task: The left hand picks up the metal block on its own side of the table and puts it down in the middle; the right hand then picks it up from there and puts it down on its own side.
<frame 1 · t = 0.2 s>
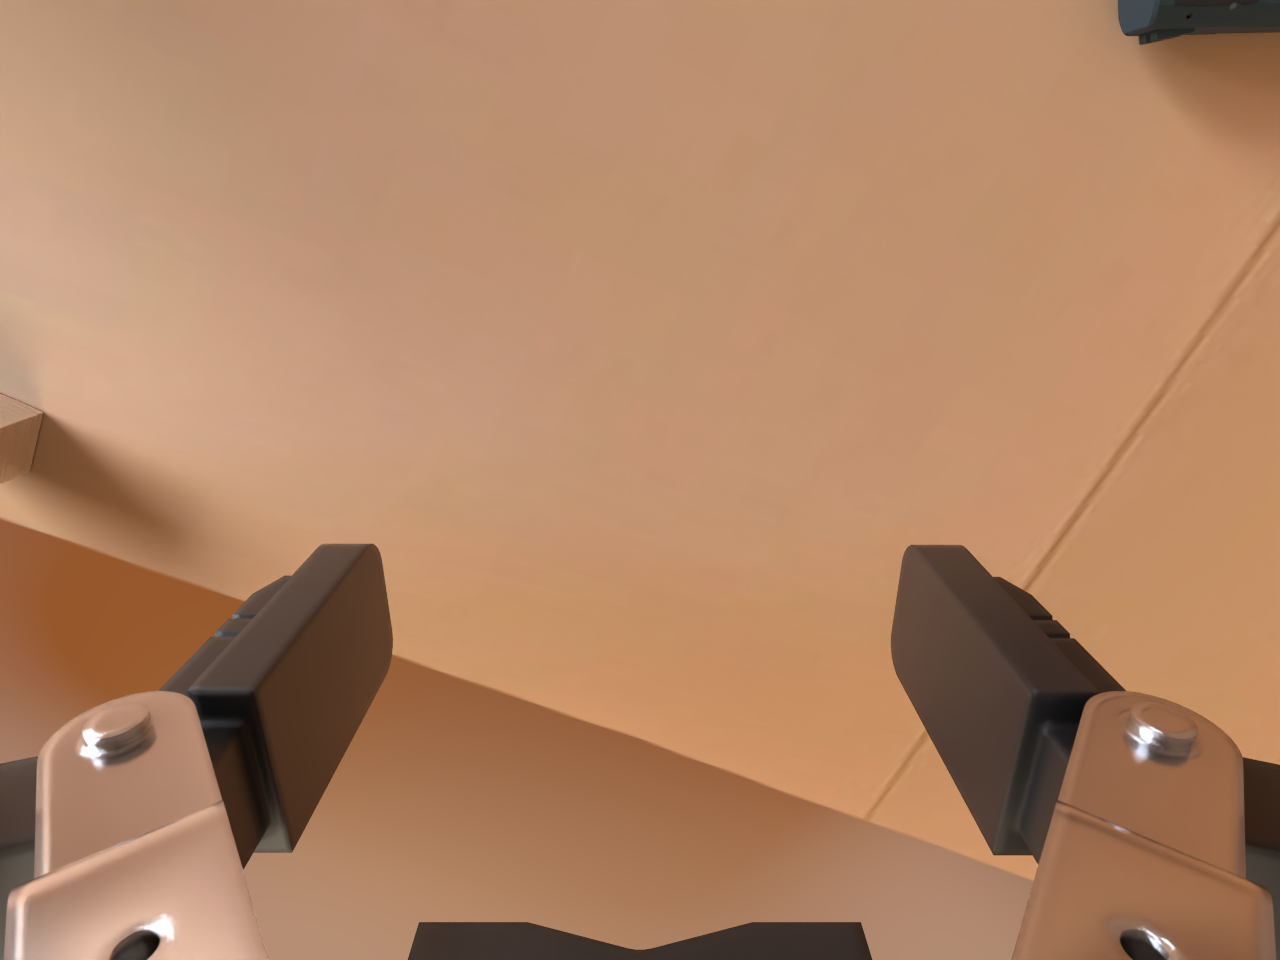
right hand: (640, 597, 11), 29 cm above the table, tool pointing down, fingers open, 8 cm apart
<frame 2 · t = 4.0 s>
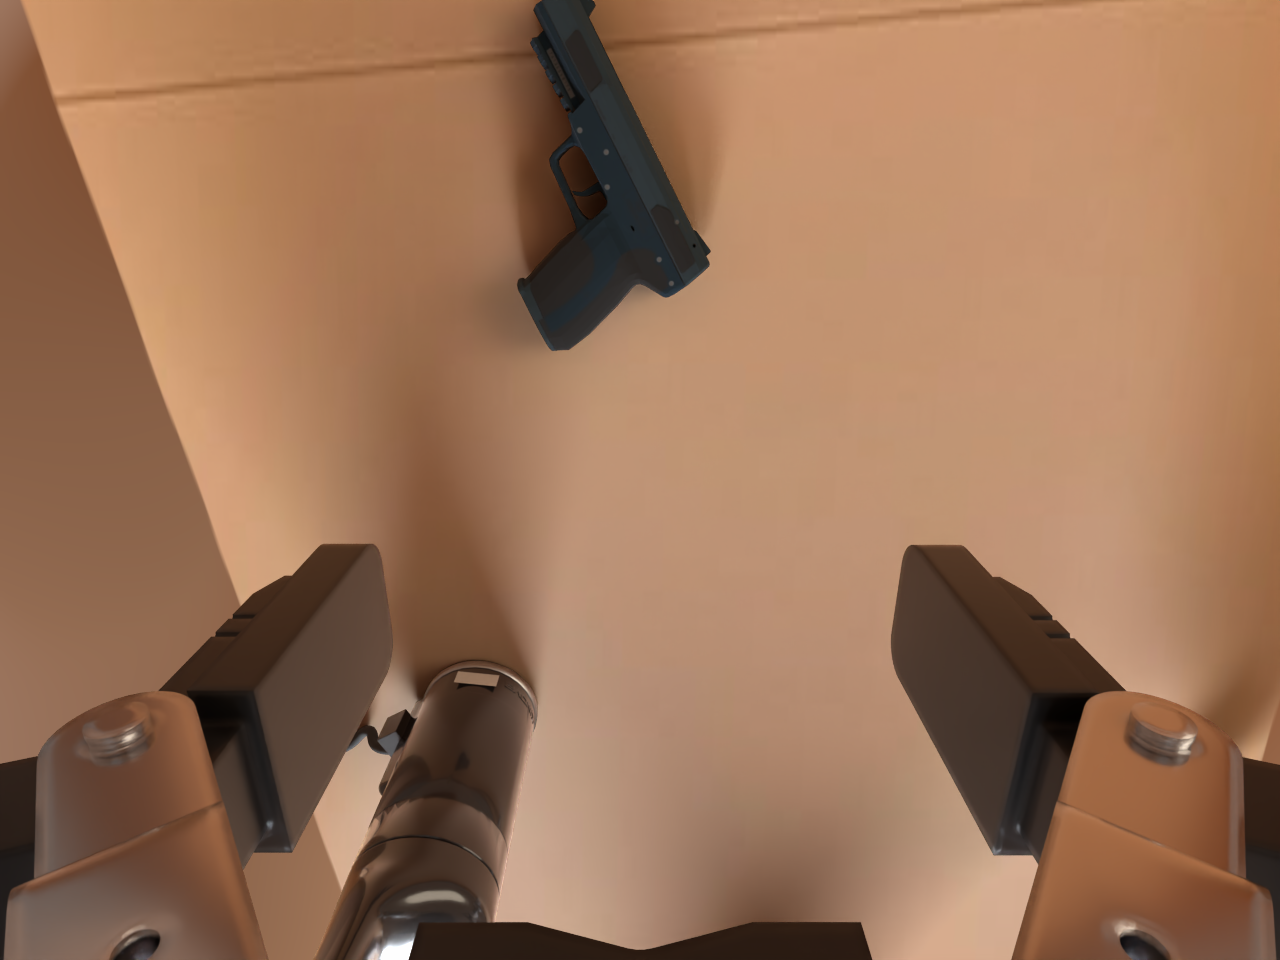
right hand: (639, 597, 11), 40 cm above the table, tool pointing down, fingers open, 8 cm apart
handgun: (572, 185, 46), on the table
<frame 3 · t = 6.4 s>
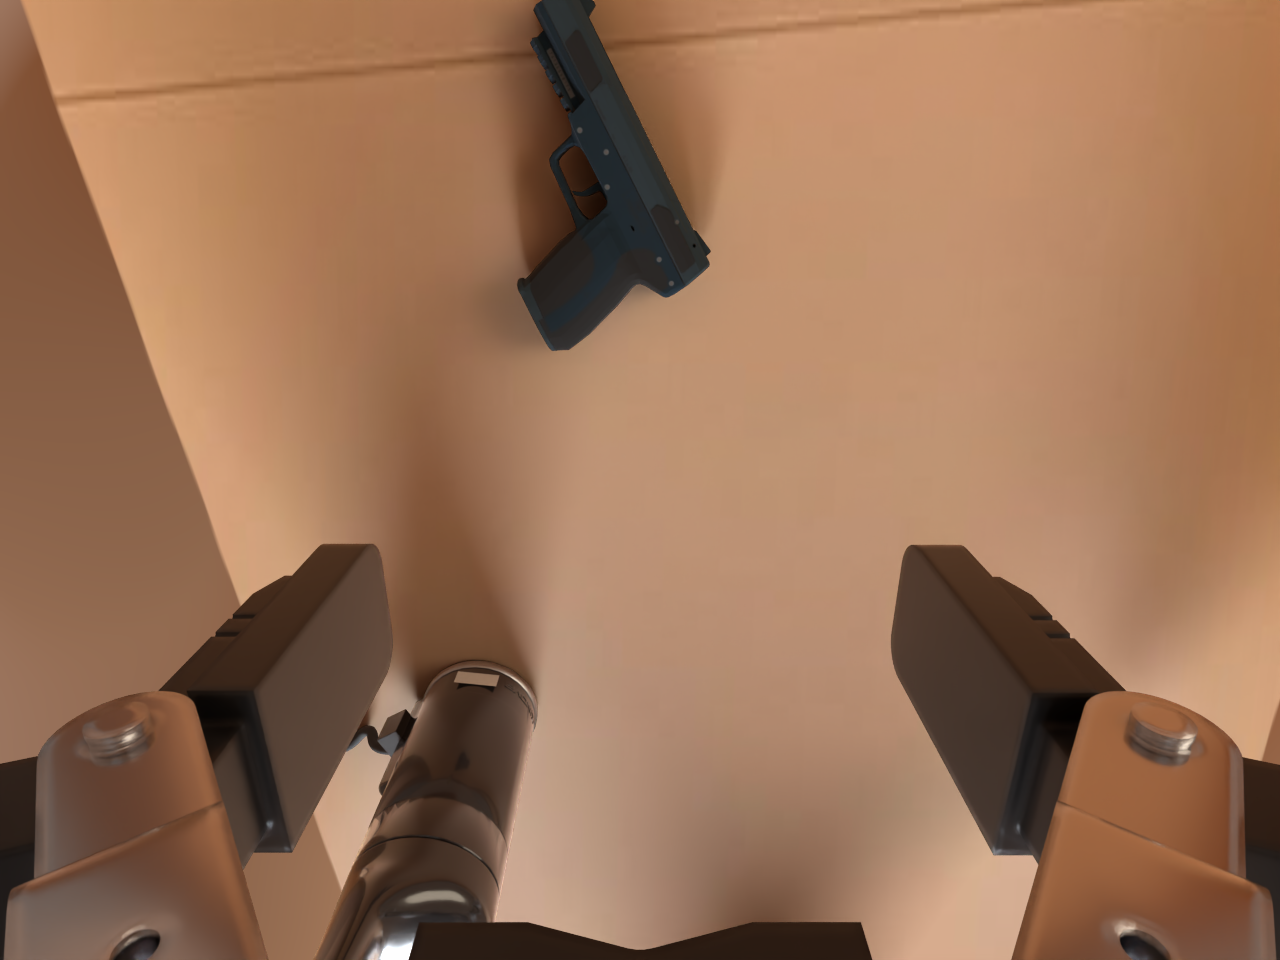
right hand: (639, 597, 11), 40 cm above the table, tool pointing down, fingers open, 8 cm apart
handgun: (572, 185, 46), on the table
when the left hand's fingers open (3 cm above the table, at t = 8.8 s): block stays where it is, on the table.
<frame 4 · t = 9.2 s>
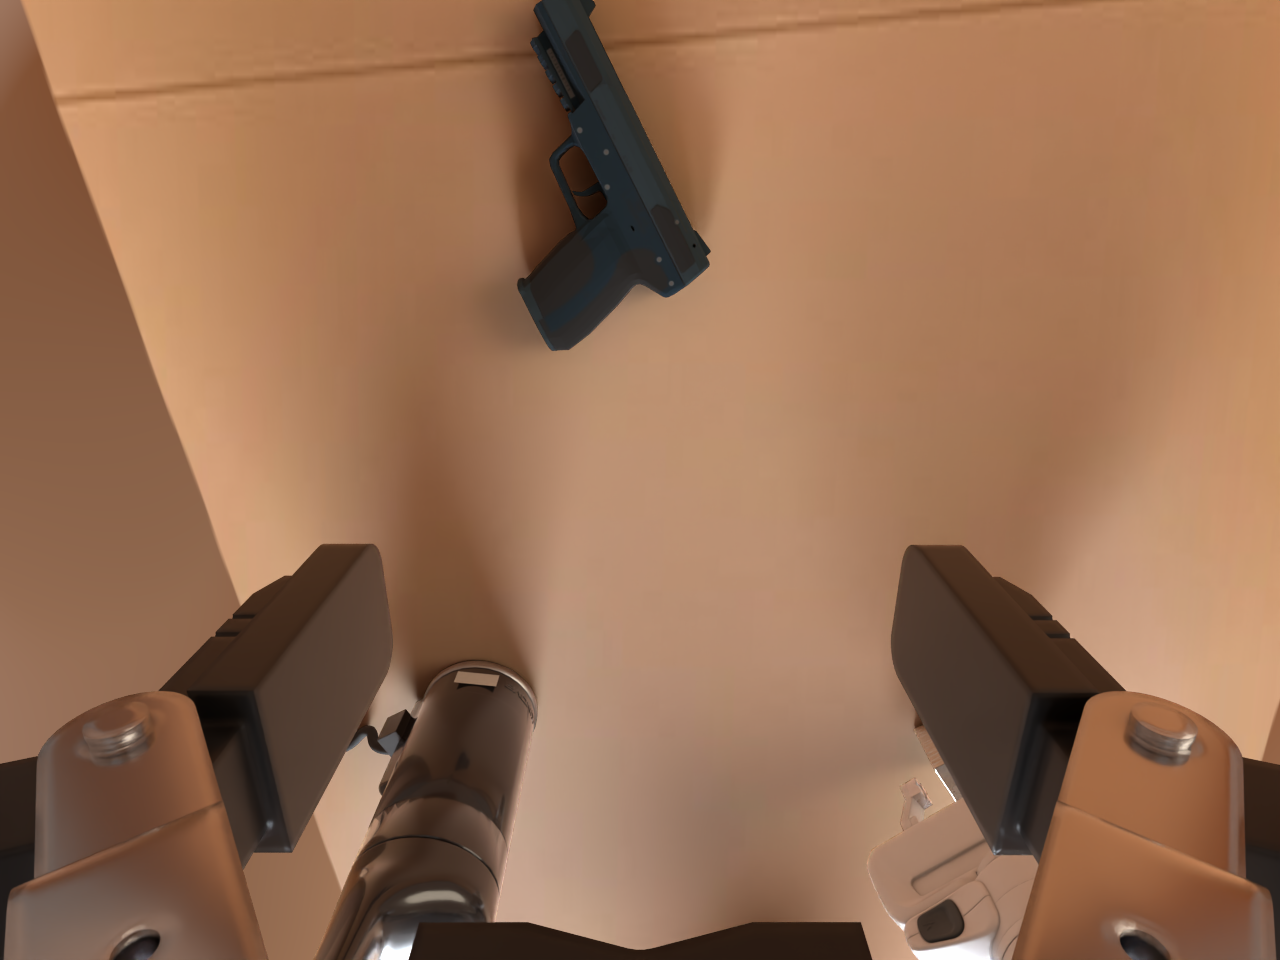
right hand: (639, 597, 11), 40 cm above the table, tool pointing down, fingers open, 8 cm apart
handgun: (572, 185, 46), on the table
block: (945, 735, 61), on the table
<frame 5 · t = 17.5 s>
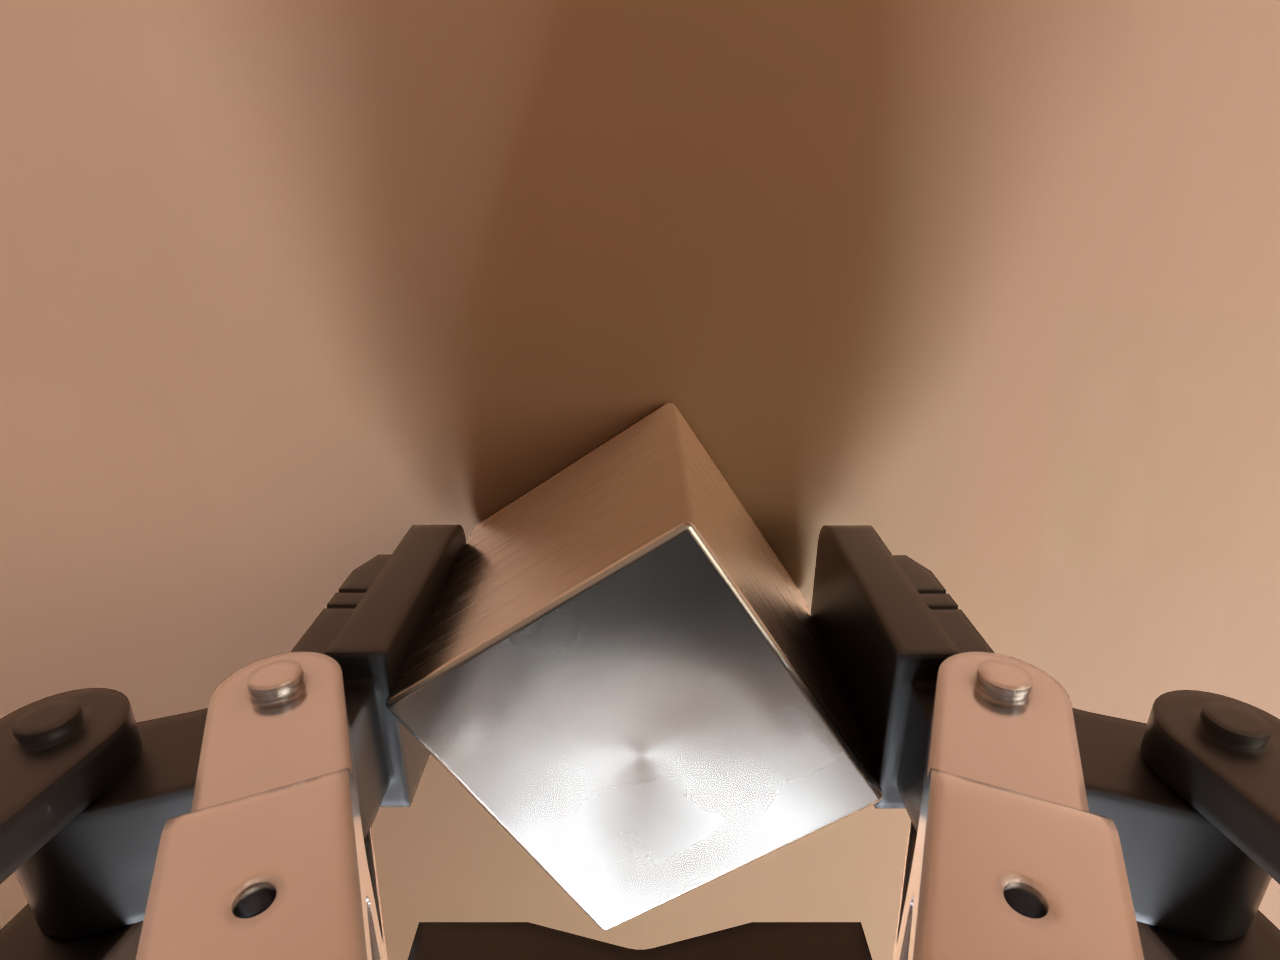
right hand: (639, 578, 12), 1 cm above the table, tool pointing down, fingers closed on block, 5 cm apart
block: (641, 562, 12), on the table, touching right hand
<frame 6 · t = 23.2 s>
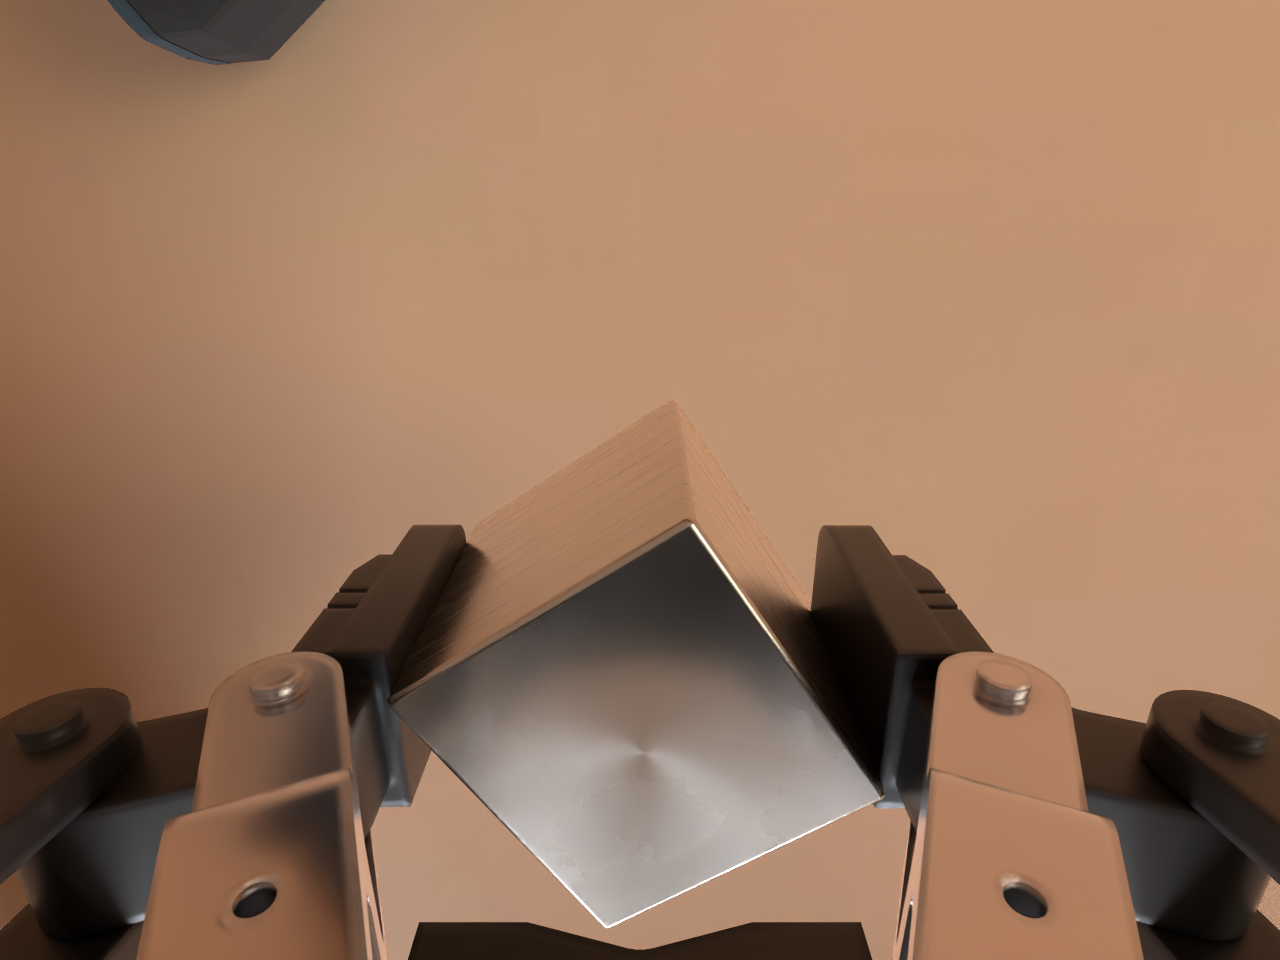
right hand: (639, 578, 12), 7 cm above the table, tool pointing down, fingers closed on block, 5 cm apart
block: (642, 560, 12), point 6 cm above the table, touching right hand
when the right hand's fingers open (2 cm above the table, at t = 29.1 s): block stays where it is, on the table.
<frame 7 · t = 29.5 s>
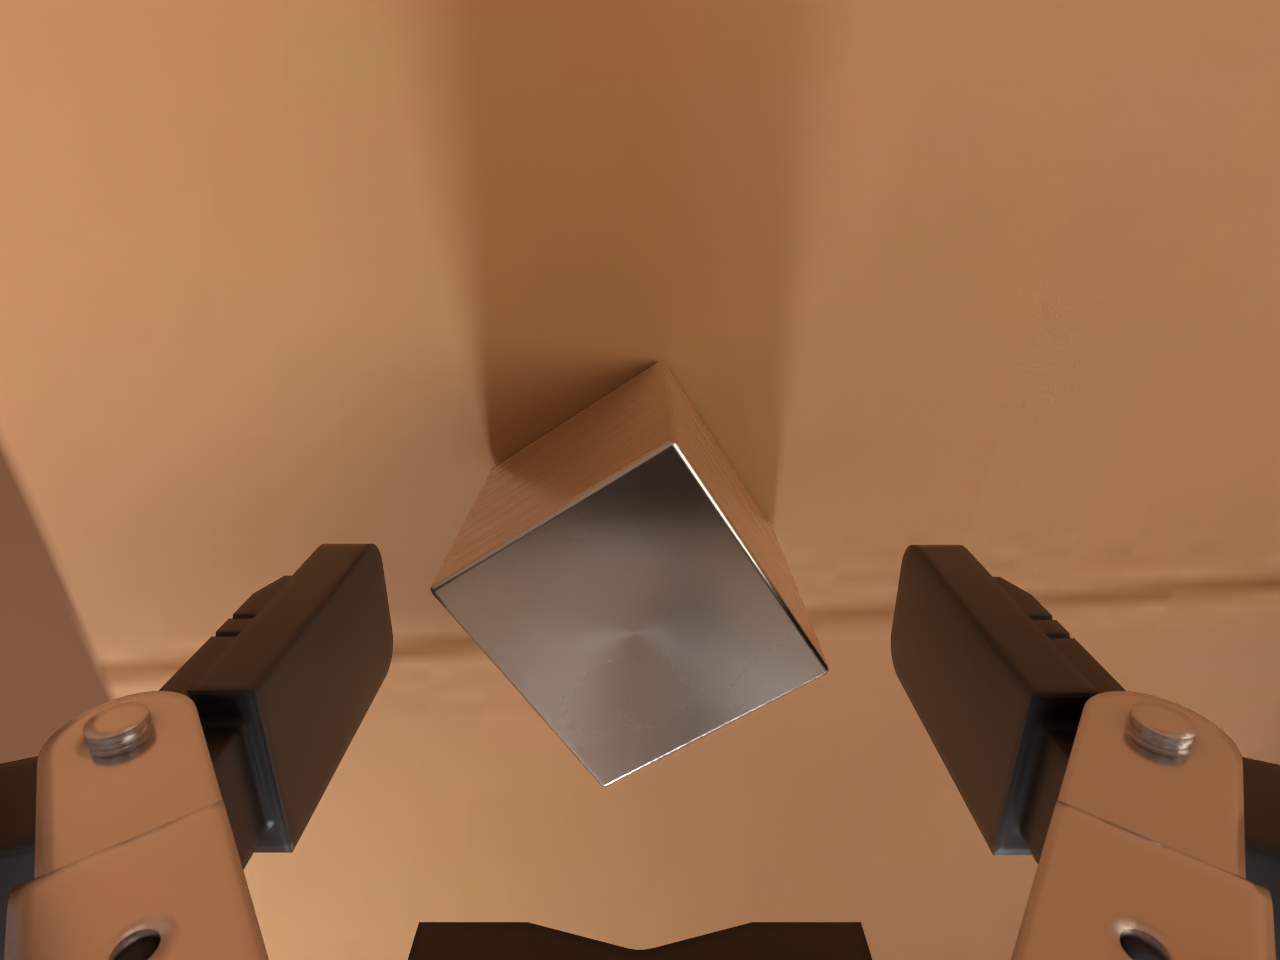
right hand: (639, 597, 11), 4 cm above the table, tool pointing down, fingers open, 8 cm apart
block: (635, 501, 14), on the table
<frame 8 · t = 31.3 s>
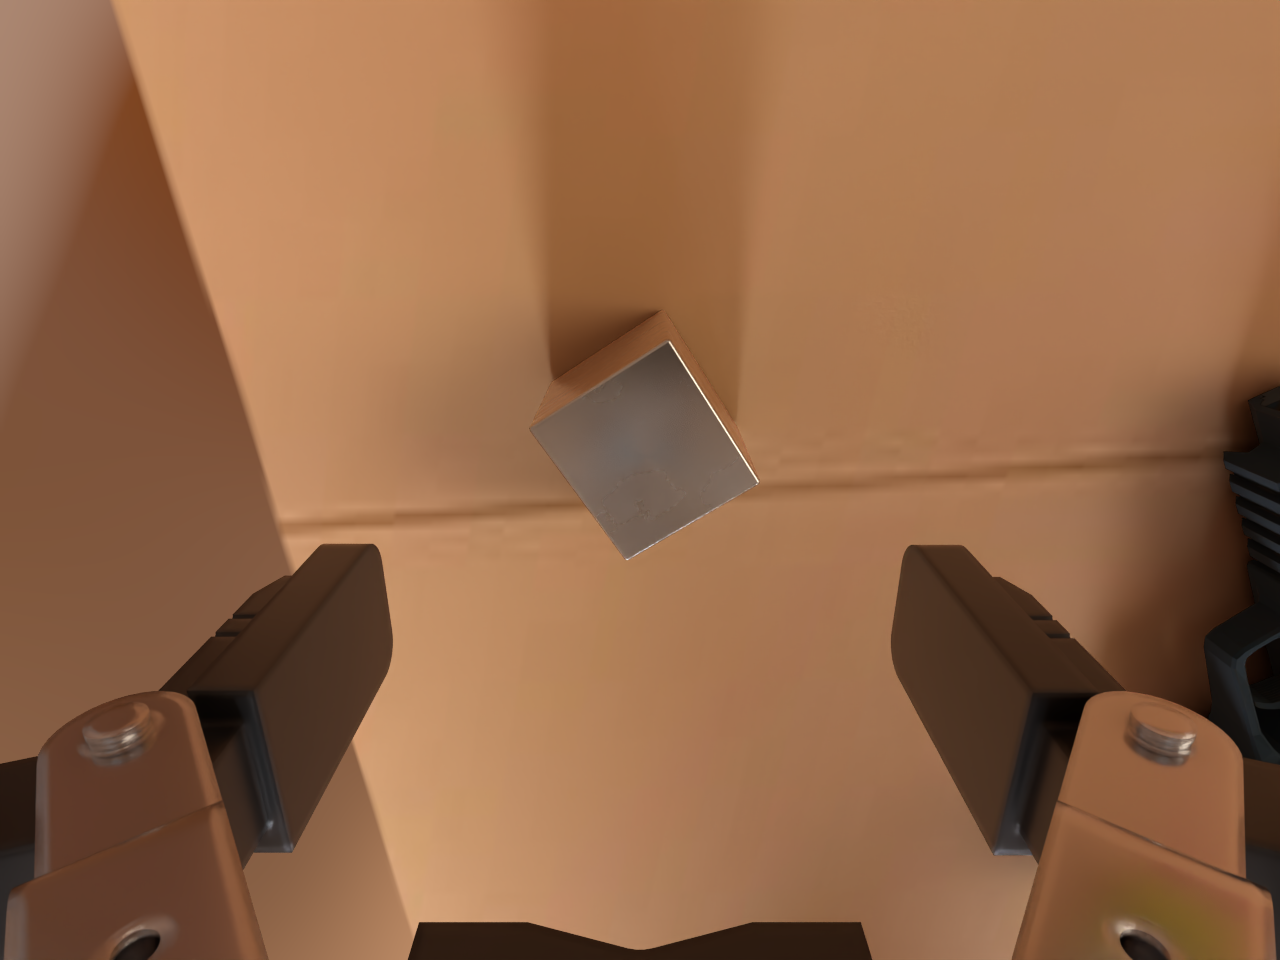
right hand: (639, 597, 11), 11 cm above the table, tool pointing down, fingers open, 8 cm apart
handgun: (1203, 652, 25), on the table
block: (645, 405, 22), on the table
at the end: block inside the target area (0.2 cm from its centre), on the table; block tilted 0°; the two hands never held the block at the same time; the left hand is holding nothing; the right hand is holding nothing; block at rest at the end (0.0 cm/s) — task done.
